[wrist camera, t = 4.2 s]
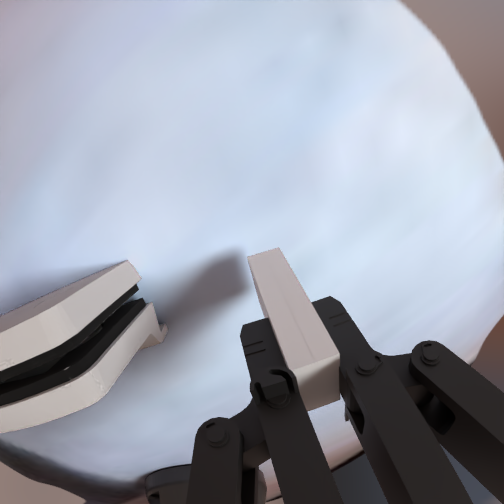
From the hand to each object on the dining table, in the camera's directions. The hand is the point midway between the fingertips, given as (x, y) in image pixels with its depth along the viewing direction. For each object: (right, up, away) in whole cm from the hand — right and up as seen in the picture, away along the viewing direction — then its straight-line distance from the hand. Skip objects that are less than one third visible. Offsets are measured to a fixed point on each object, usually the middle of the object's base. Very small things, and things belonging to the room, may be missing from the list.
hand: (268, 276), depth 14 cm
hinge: (-14, -3, +1) cm, 15 cm away
